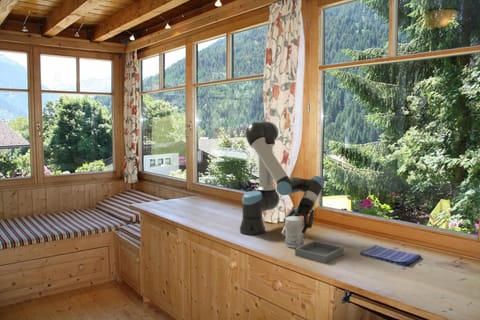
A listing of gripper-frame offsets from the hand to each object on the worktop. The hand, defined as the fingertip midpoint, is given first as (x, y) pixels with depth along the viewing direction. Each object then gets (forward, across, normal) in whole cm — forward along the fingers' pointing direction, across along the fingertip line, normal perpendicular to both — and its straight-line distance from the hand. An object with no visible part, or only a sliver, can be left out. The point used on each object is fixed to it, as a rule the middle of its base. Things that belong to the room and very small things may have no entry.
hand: (290, 235), depth 204 cm
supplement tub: (+2, 0, -6) cm, 7 cm away
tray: (+4, -18, -4) cm, 18 cm away
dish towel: (-10, -44, -19) cm, 49 cm away
